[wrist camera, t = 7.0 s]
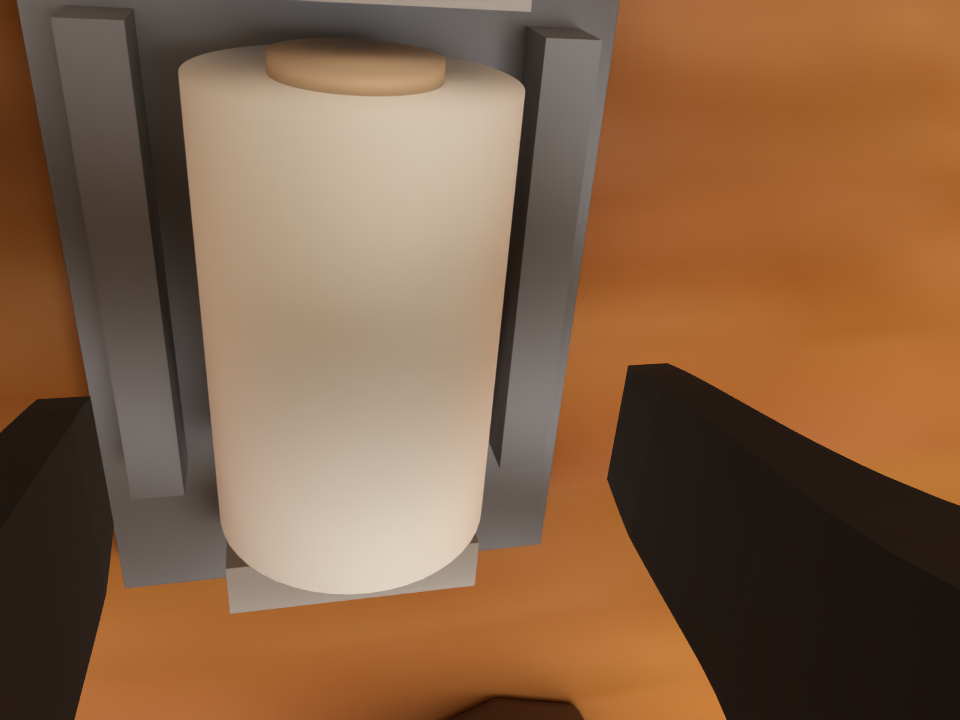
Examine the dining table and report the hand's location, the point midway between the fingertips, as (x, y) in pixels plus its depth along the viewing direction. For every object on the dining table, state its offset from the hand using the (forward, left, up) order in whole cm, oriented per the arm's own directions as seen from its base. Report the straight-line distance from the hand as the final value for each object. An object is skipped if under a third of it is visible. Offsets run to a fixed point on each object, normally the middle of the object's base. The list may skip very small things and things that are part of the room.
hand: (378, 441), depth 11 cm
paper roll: (0, 0, -6) cm, 6 cm away
